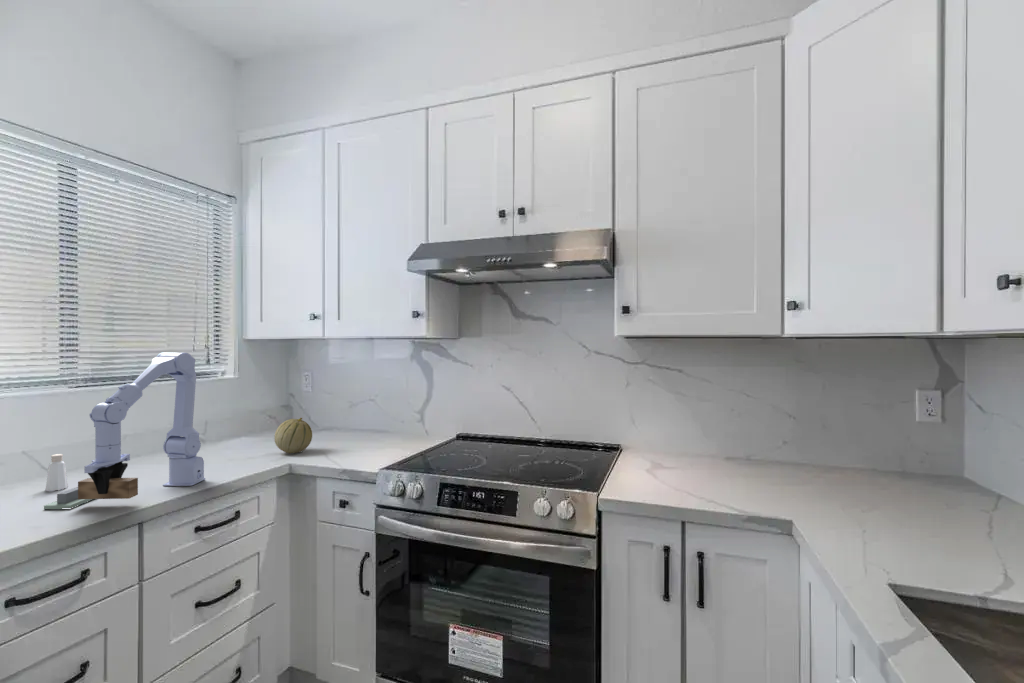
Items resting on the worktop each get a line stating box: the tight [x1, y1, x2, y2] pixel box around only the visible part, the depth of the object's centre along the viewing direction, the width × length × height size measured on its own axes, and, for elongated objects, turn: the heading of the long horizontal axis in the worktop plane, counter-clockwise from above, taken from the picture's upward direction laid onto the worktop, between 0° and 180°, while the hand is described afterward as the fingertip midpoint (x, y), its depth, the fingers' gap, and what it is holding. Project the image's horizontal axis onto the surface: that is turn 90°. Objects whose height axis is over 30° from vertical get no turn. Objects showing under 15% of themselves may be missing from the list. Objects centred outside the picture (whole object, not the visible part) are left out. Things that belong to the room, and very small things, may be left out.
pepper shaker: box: [44, 453, 69, 492], centre depth 159 cm, size 5×5×11 cm
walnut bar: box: [77, 477, 139, 500], centre depth 142 cm, size 14×4×5 cm, turn 93°
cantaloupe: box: [273, 417, 313, 454], centre depth 211 cm, size 15×15×15 cm
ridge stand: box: [43, 486, 93, 510], centre depth 149 cm, size 7×20×4 cm, turn 3°
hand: (108, 491), depth 142 cm, fingers closed on walnut bar, 3 cm apart
